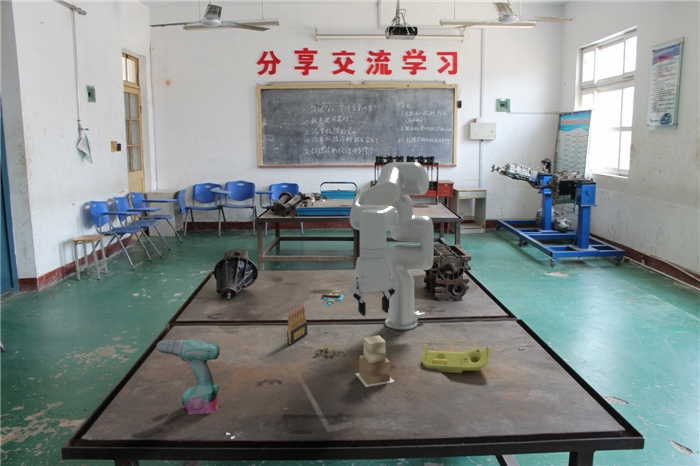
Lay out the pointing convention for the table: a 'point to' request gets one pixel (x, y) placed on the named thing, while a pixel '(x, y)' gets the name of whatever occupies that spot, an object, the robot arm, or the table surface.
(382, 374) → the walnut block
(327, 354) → the mineral rock
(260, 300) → the table surface
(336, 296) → the gear mechanism
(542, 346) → the table surface
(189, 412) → the power drill
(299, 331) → the ammunition clip
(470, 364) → the plastic component
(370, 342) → the maple block
